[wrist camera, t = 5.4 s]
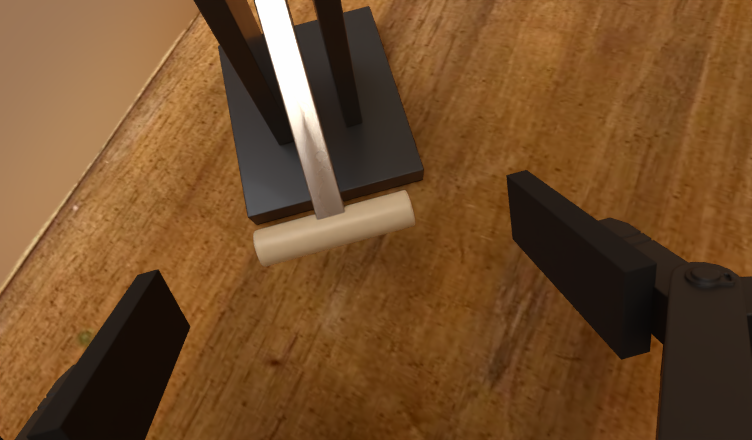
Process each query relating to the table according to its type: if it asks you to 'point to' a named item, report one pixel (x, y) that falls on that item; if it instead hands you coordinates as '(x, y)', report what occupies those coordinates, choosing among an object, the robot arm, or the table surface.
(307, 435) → the table surface
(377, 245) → the table surface
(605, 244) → the robot arm
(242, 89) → the lever bracket
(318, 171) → the lever handle
